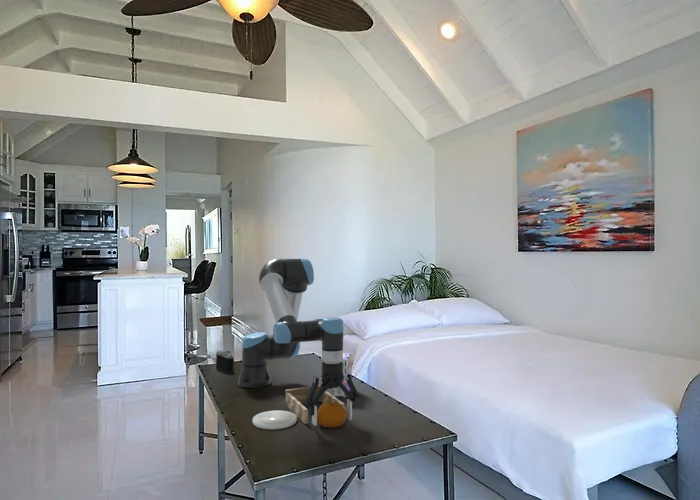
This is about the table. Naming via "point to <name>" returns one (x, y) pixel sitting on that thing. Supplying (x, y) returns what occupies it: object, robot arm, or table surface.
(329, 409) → the fruit
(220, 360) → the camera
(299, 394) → the oak open frame
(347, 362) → the candy box
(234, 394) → the table surface
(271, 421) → the plate
